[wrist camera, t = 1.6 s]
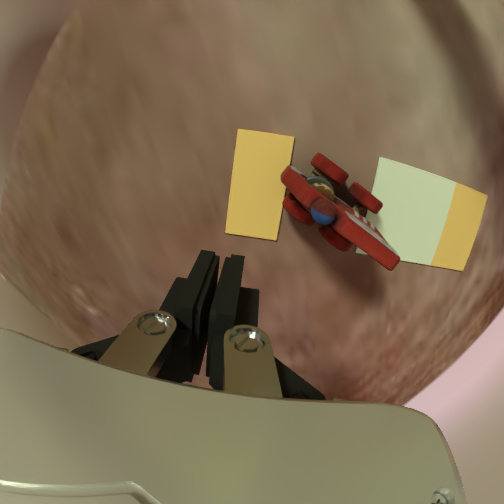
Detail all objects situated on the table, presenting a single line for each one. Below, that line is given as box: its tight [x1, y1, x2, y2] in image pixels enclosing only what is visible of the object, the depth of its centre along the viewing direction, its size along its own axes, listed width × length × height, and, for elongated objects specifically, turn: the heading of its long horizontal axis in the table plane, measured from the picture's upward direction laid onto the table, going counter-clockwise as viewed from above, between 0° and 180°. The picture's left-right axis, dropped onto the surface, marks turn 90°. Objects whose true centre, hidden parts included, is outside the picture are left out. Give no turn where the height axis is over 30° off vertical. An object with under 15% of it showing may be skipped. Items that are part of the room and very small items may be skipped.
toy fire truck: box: [280, 153, 400, 271], centre depth 26 cm, size 7×12×10 cm, turn 56°
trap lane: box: [225, 129, 488, 271], centre depth 31 cm, size 12×35×1 cm, turn 82°
